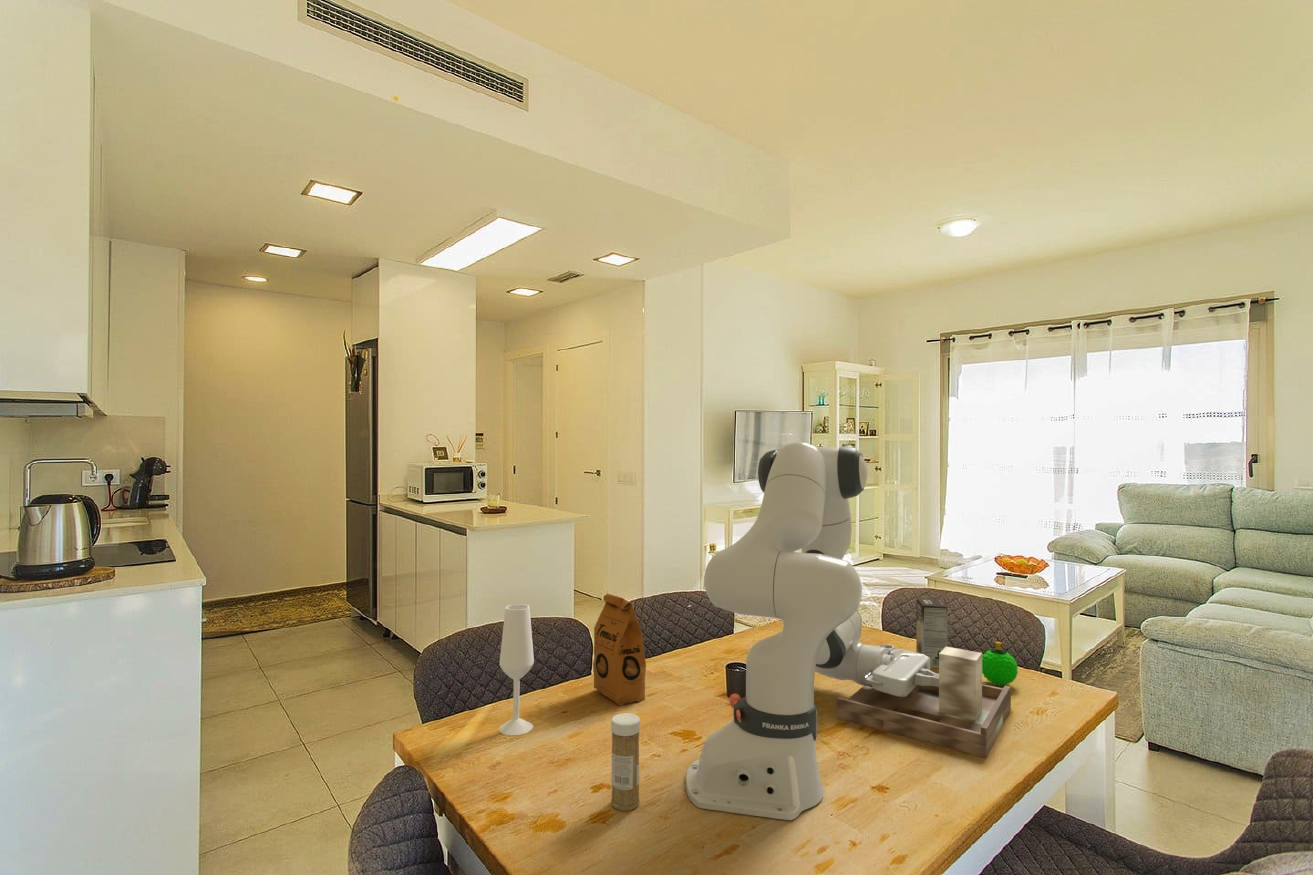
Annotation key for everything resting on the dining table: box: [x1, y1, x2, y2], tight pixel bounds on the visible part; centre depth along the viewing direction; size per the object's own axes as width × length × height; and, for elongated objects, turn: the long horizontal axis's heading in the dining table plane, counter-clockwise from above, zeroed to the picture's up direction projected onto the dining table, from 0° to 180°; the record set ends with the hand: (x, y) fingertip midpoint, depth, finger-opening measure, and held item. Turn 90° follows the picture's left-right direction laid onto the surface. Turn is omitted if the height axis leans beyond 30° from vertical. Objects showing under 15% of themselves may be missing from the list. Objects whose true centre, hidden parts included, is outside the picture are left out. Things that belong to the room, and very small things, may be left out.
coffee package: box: [592, 592, 647, 706], centre depth 145 cm, size 10×12×22 cm
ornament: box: [982, 641, 1019, 686], centre depth 154 cm, size 8×8×10 cm
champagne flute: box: [498, 603, 535, 736], centre depth 128 cm, size 7×7×24 cm
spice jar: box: [610, 712, 641, 812], centre depth 101 cm, size 5×5×14 cm
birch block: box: [938, 646, 983, 721], centre depth 133 cm, size 7×6×12 cm
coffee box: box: [915, 597, 949, 669], centre depth 169 cm, size 9×6×16 cm
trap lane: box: [836, 683, 1012, 758], centre depth 137 cm, size 28×28×5 cm
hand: (942, 681), depth 135 cm, fingers closed
